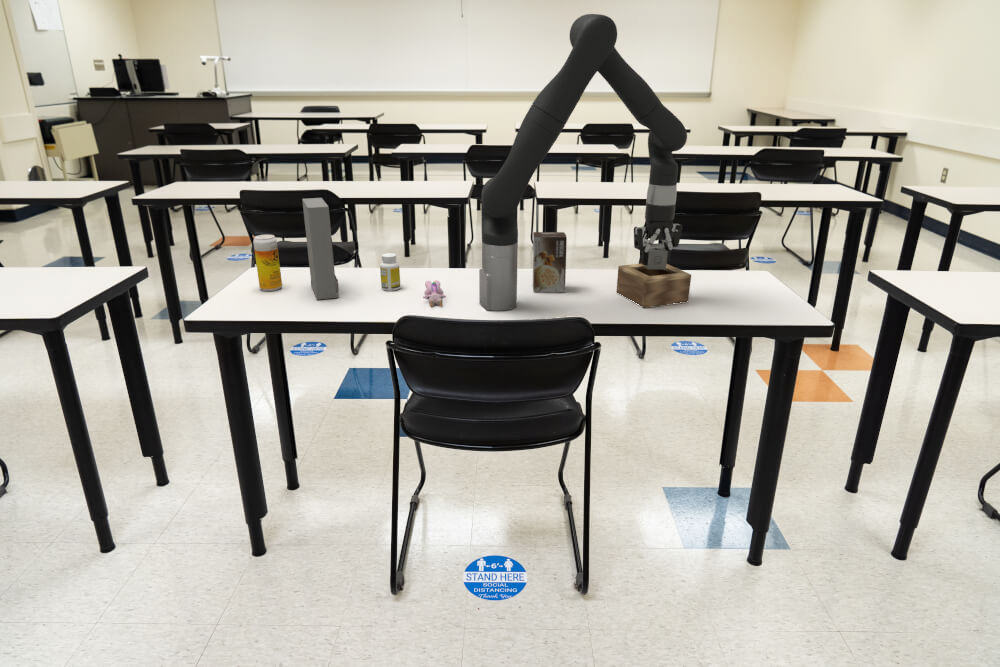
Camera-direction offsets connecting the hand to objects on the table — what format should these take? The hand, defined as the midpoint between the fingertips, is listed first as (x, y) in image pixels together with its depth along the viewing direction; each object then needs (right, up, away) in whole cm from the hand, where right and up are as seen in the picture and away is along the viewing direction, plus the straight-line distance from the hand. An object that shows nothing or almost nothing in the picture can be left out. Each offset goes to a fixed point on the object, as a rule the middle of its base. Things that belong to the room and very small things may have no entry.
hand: (654, 263), depth 175 cm
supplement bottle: (-73, -6, +10) cm, 74 cm away
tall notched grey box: (-91, -8, +6) cm, 92 cm away
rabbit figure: (-60, -10, +1) cm, 61 cm away
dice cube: (0, -1, 0) cm, 1 cm away
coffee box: (-28, -7, +10) cm, 31 cm away
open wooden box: (0, -9, +4) cm, 10 cm away
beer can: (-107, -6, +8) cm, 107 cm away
